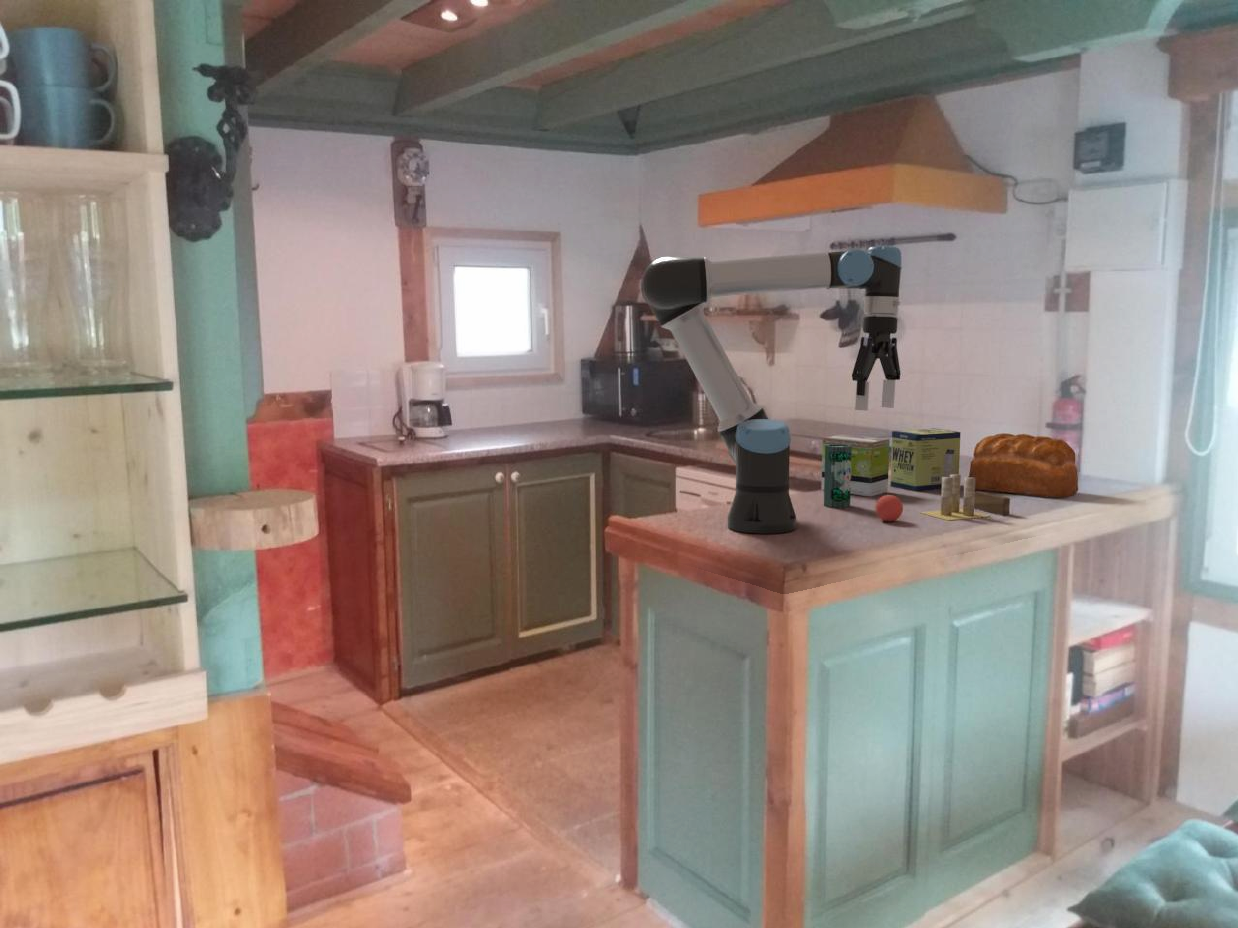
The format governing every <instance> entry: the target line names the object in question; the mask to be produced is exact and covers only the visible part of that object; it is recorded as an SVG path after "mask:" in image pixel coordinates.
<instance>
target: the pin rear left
mask: <svg viewBox="0 0 1238 928" xmlns="http://www.w3.org/2000/svg"><path fill="white" fill-rule="evenodd" d="M961 476H962V475H961V474H959V475H957V474H951V475H950V477H952V478H953V491H952V512H953V513H958V512H959V509H960V501H961V500H960V498H961V481H962V480H961Z"/></svg>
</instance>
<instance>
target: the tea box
mask: <svg viewBox="0 0 1238 928" xmlns="http://www.w3.org/2000/svg"><path fill="white" fill-rule="evenodd" d="M890 441H891V440H890V439H889V438H883V437H881V438H880V437H873V436H863V435H862V436H861V435H850V434H837V435H833V436H827V437H822V454H821V455H822V457H821V459H822V461H821V491H824V478H825V445H830V444H845V445H851V446H852V456H851V495H857V496H862V497H873V496H878V495H882V494H884V493H887V492H888V487H889V471H890V469H889V466H890V465H889V463H890Z"/></svg>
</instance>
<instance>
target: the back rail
mask: <svg viewBox="0 0 1238 928" xmlns="http://www.w3.org/2000/svg"><path fill="white" fill-rule="evenodd" d="M1010 504H1011V498H1010V497H1006V496H1002V495H998V494H993V493H988V492H984V491H975V500H974V508H975V509H974V510H977V509H979V510H978V511H981V510H983V511H982V512H986V511H987V512H986V513H990V512H991V513H990V514H994V513H995V515H998V514H999V516H1002V515H1004V516H1010V507H1011V506H1010Z"/></svg>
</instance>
